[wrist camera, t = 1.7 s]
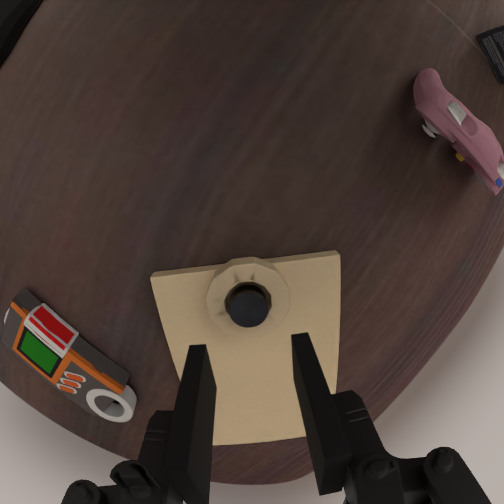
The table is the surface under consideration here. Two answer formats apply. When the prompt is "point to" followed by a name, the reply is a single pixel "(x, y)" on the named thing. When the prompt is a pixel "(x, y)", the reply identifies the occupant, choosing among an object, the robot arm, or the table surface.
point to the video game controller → (459, 129)
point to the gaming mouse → (13, 21)
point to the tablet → (254, 336)
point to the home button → (248, 306)
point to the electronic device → (66, 359)
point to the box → (494, 50)
